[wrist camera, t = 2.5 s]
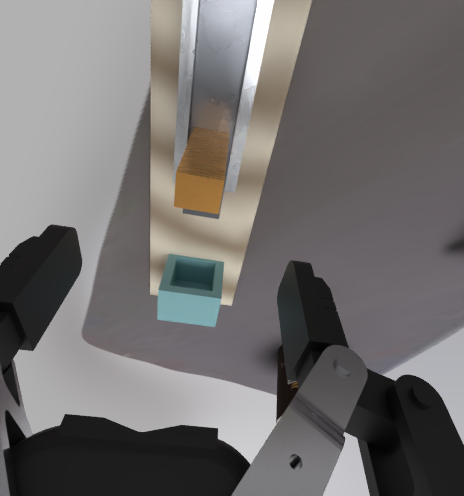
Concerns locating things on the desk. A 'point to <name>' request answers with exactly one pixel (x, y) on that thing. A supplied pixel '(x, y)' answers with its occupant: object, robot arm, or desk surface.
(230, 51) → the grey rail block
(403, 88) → the desk surface
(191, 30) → the sleeve
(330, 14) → the desk surface
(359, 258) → the desk surface
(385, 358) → the desk surface
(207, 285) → the socket
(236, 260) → the base board
